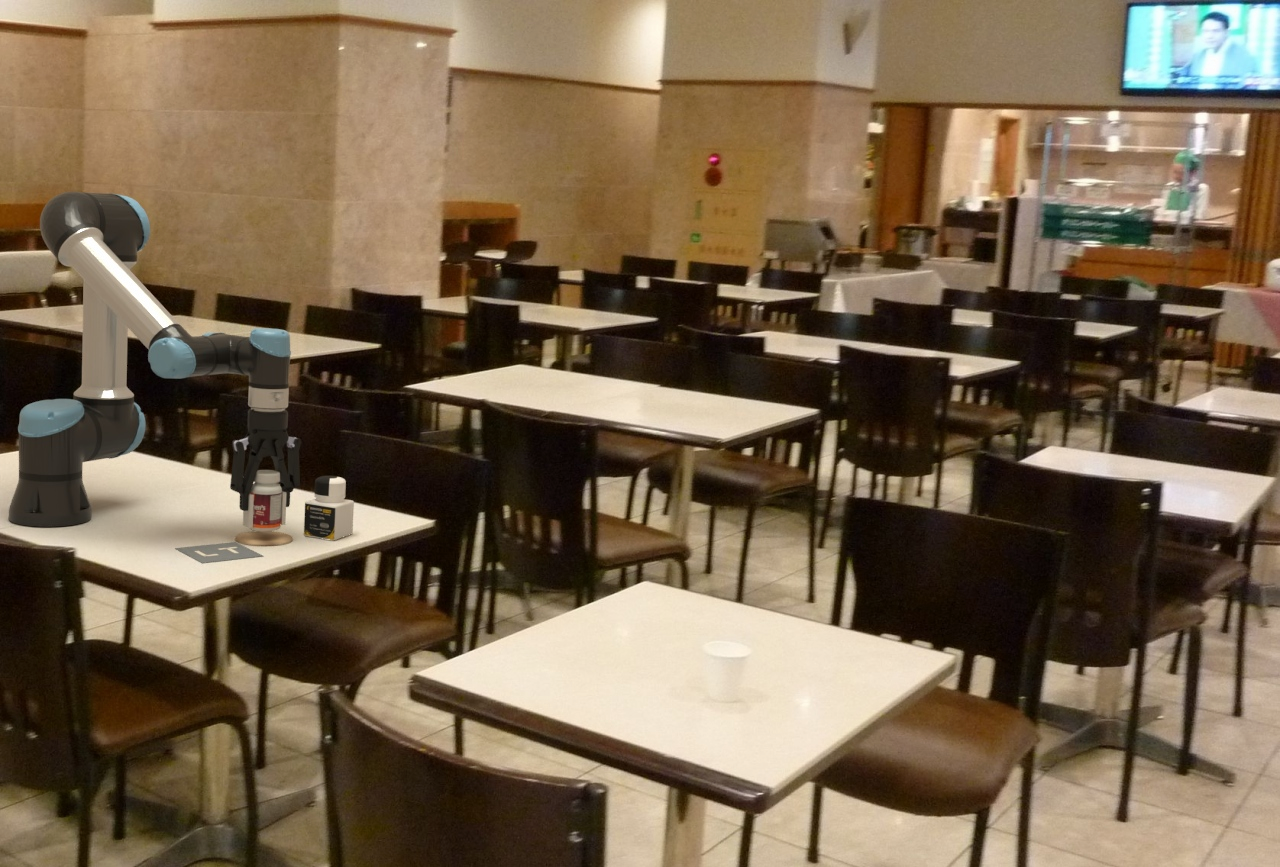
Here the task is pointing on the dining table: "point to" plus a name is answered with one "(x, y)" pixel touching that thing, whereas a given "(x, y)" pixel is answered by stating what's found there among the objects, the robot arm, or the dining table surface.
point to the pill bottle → (266, 501)
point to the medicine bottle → (329, 510)
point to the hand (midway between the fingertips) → (264, 524)
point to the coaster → (263, 538)
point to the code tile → (219, 552)
